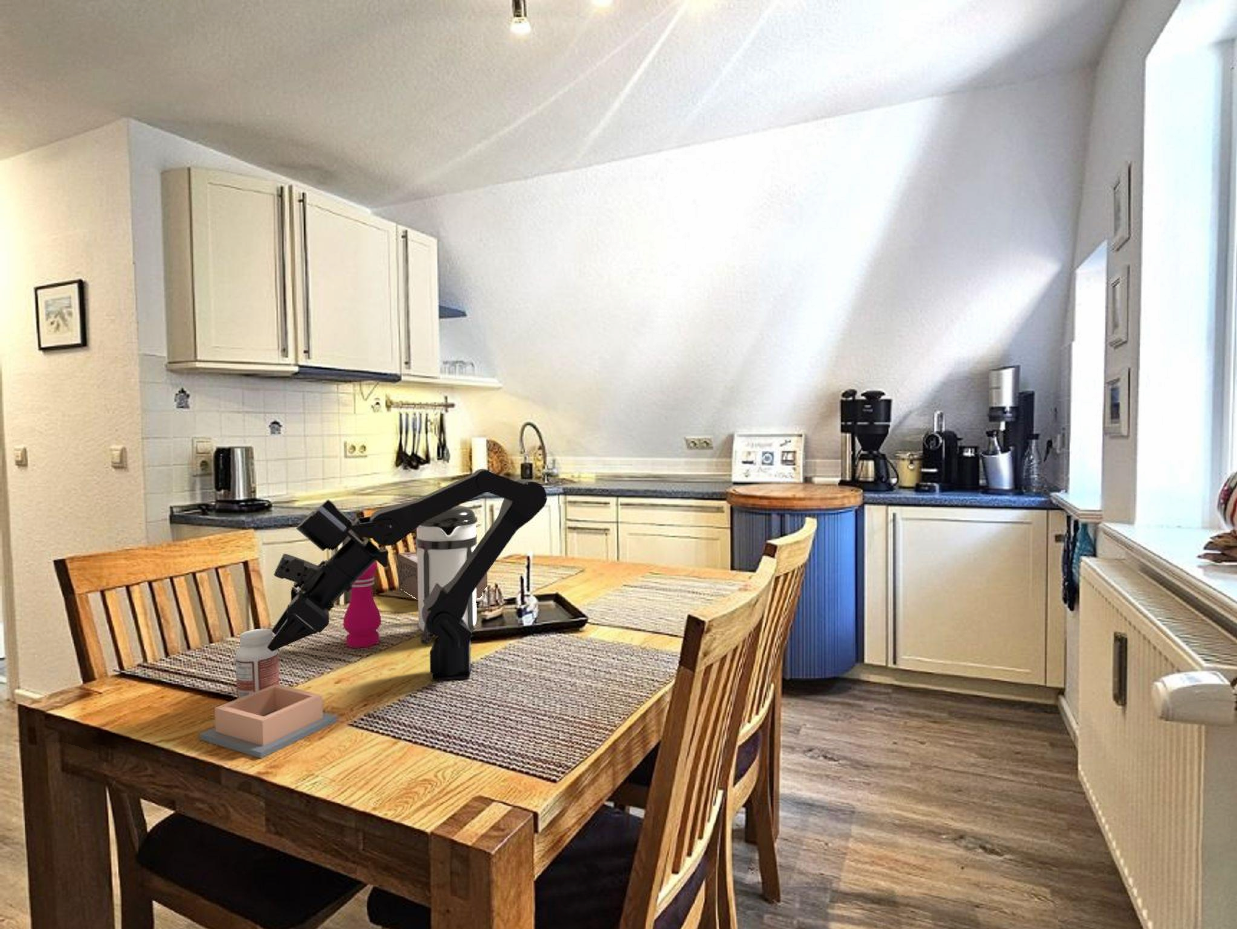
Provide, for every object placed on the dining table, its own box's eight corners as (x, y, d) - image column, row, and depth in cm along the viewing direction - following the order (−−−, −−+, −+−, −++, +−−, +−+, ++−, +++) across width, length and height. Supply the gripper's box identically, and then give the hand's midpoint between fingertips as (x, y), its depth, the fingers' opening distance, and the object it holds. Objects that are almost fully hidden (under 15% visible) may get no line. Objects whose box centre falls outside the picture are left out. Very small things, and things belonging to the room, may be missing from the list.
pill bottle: (279, 690, 117) (278, 625, 117) (279, 703, 112) (277, 635, 111) (237, 696, 115) (235, 630, 114) (235, 710, 109) (233, 640, 108)
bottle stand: (338, 721, 105) (337, 693, 105) (261, 758, 93) (260, 727, 93) (278, 705, 111) (277, 679, 110) (198, 739, 99) (197, 709, 99)
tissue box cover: (398, 589, 188) (397, 553, 188) (449, 583, 197) (449, 547, 196) (431, 611, 167) (431, 570, 167) (487, 602, 175) (487, 563, 175)
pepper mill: (369, 649, 138) (367, 549, 137) (336, 647, 139) (333, 548, 138) (388, 638, 145) (386, 543, 144) (356, 636, 146) (354, 542, 145)
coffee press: (501, 630, 151) (500, 492, 150) (446, 650, 138) (444, 499, 136) (444, 617, 161) (443, 488, 159) (388, 635, 147) (385, 494, 145)
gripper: (307, 529, 123) (238, 596, 120) (304, 546, 106) (222, 625, 102) (355, 570, 127) (289, 636, 123) (359, 593, 109) (283, 671, 106)
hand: (271, 640), depth 113 cm, fingers open, 9 cm apart
